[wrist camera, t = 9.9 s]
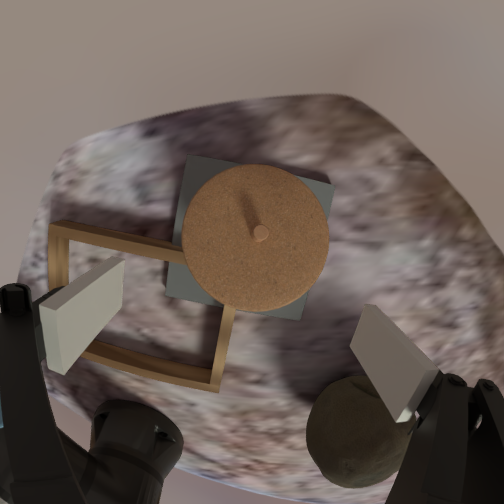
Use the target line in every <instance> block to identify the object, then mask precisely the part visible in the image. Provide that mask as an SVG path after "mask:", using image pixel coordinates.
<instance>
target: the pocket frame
mask: <svg viewBox="0 0 504 504" xmlns="http://www.w3.org/2000/svg"><path fill="white" fill-rule="evenodd" d="M69 239H70V240H74V241H79V242H83V243H87V244H92V245H96V246H100V247H105V248H109V249H114V250H118V251H123V252H127V253H132V254H136V255H141V256H145V257H150V258H155V259H159V260H164V261H169V262H174V263H178V264H183V265H187V264H186V261H185V258H184V255H183V249H182V247H179V246H174V245H172V242H169V241H164V240H159V239H154V238H149V237H144V236H139V235H135V234H130V233H125V232H120V231H115V230H110V229H105V228H100V227H95V226H90V225H86V224H81V223H76V222H71V221H66V220H60V221H57V222H53V223H50V224H49V231H48V279H49V291H51V290H52V289H54V288H57V287H61V286H67V285H68V284H69V280H68V261H69ZM235 311H236V309H235V308H231V307H229V306H227V305H225V304H224V309H223V314H222V319H221V324H220V330H219V335H218V340H217V346H216V351H215V357H214V362H213V368H212V369H206V368H201V367H196V366H192V365H187V364H182V363H178V362H173V361H169V360H165V359H161V358H157V357H153V356H149V355H145V354H141V353H137V352H134V351H130V350H127V349H123V348H120V347H116V346H113V345H110V344H106V343H103V342H100V341H97V340H94V339H93V341H92V342H91V343H90V344H89V345H88V347H87V348H86V349H85V350H84V351H83V353H82V354H81V355H80V357H83V358H85V359H88V360H91V361H94V362H97V363H100V364H103V365H106V366H109V367H112V368H115V369H119V370H122V371H125V372H129V373H132V374H136V375H139V376H143V377H147V378H151V379H154V380H158V381H162V382H167V383H171V384H175V385H180V386H184V387H189V388H194V389H199V390H204V391H209V392H215V393H219V388H220V383H221V378H222V374H223V369H224V364H225V359H226V354H227V350H228V345H229V340H230V335H231V330H232V326H233V321H234V316H235Z"/></svg>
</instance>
